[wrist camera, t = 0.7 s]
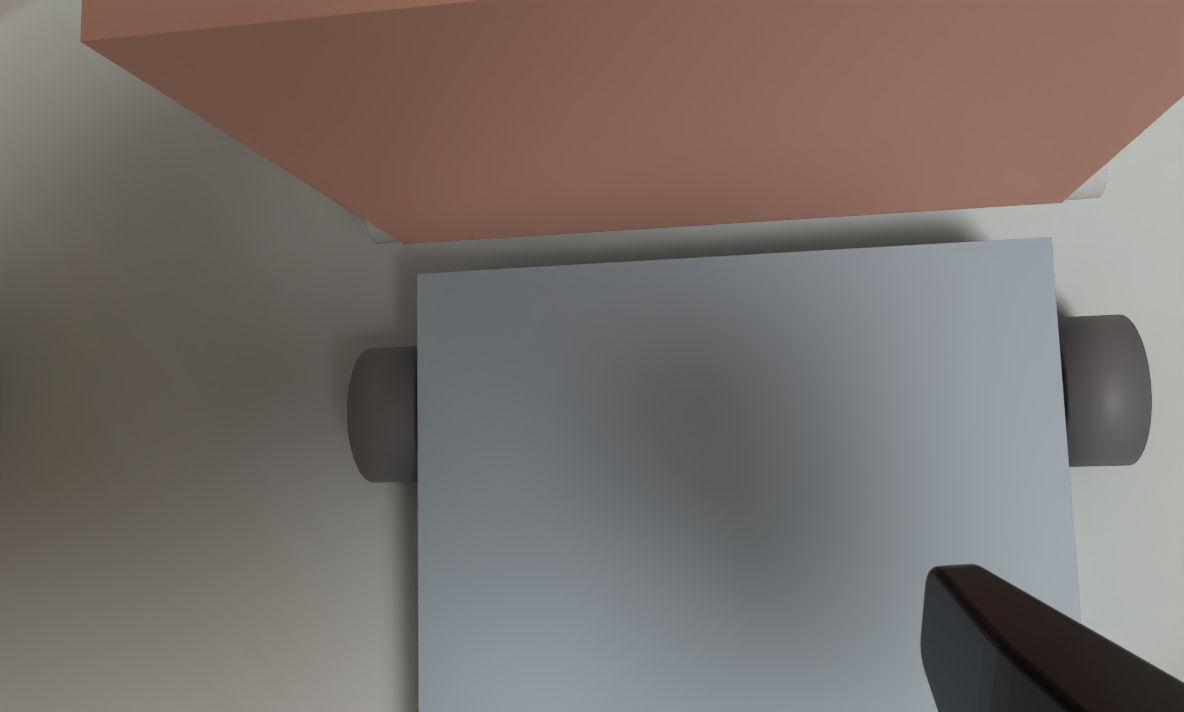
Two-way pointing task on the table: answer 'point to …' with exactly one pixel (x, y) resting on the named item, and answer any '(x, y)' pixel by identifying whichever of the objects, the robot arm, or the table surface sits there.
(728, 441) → the cart bed
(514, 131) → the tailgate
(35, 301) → the table surface
